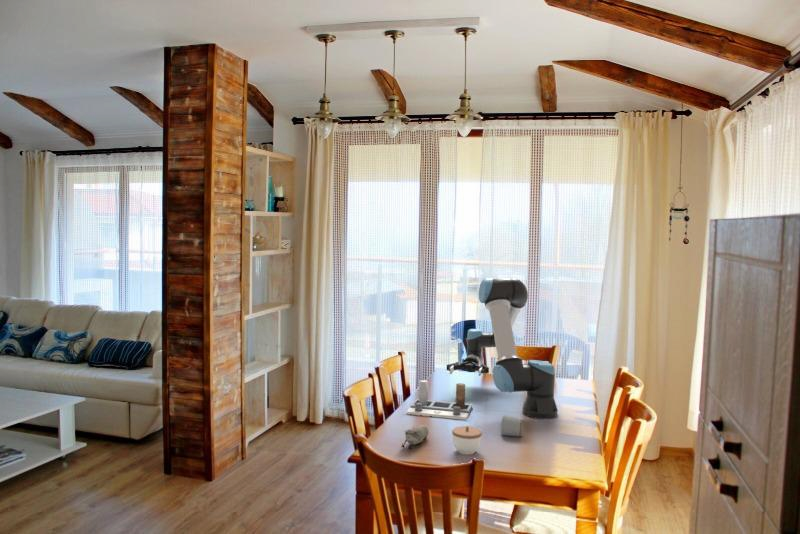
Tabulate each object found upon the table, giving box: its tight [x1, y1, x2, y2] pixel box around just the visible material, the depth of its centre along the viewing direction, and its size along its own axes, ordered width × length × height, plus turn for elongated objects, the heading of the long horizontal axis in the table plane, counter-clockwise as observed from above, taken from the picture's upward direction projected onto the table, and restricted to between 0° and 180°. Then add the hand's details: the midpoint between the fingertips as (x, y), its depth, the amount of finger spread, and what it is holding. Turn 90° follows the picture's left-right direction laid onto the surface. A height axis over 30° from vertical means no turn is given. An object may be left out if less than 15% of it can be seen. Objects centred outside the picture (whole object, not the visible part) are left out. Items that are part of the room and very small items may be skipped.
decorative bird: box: [400, 424, 429, 451], centre depth 225 cm, size 5×16×8 cm, turn 150°
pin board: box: [409, 379, 473, 415], centre depth 269 cm, size 26×11×12 cm, turn 75°
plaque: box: [406, 403, 469, 421], centre depth 261 cm, size 26×6×4 cm, turn 75°
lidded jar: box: [452, 425, 483, 456], centre depth 218 cm, size 11×11×9 cm
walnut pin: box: [455, 382, 466, 410], centre depth 267 cm, size 4×4×12 cm
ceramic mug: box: [500, 414, 524, 438], centre depth 238 cm, size 11×8×8 cm
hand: (465, 372), depth 279 cm, fingers open, 13 cm apart
